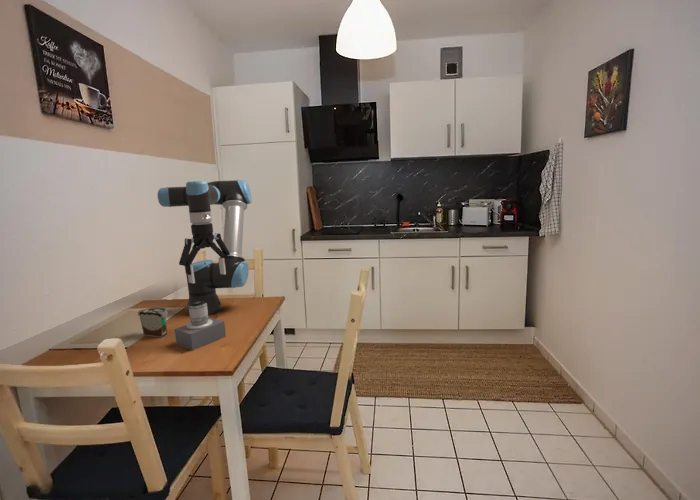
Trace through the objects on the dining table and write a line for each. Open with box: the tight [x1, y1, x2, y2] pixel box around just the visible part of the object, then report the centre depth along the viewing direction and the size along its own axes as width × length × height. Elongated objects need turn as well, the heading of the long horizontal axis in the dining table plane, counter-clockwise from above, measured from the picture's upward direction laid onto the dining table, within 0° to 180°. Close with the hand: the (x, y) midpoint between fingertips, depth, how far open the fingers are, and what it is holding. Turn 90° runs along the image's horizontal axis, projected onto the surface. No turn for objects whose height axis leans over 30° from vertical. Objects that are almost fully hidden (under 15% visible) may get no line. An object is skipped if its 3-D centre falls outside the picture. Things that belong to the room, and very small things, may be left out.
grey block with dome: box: [174, 316, 227, 351], centre depth 140 cm, size 11×14×7 cm
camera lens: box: [188, 301, 209, 326], centre depth 139 cm, size 6×6×8 cm
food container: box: [137, 306, 169, 338], centre depth 149 cm, size 12×6×10 cm, turn 71°
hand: (208, 278), depth 144 cm, fingers open, 13 cm apart
